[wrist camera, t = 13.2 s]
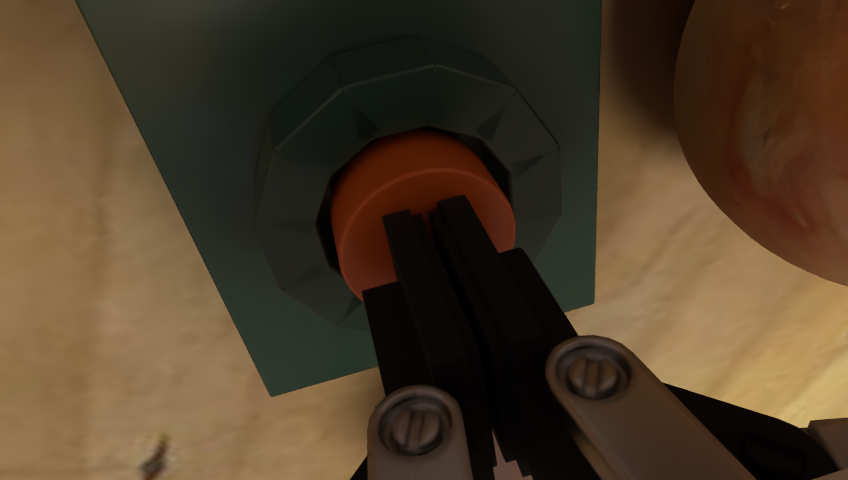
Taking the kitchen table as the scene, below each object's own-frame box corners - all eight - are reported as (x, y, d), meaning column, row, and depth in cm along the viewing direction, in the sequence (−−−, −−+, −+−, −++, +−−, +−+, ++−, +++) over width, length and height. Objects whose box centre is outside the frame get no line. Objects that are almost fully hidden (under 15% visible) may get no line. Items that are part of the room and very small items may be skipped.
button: (309, 153, 12) (317, 198, 11) (481, 110, 12) (510, 147, 11) (350, 286, 14) (361, 337, 13) (496, 246, 14) (522, 292, 13)
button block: (78, -70, 12) (16, -26, 9) (558, -171, 13) (660, -164, 10) (268, 344, 19) (272, 451, 16) (565, 261, 20) (624, 346, 17)
